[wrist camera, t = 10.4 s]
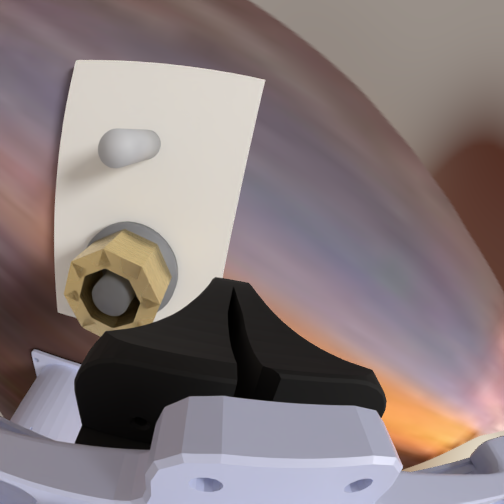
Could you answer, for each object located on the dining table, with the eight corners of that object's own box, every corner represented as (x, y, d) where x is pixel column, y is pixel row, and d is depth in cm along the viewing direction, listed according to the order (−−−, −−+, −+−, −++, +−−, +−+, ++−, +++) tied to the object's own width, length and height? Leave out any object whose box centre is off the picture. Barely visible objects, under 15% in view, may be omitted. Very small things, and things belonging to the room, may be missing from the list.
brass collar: (181, 298, 20) (172, 329, 17) (112, 318, 20) (95, 348, 17) (147, 219, 18) (129, 238, 15) (76, 248, 19) (51, 269, 15)
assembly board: (209, 339, 23) (203, 396, 18) (63, 306, 22) (27, 349, 16) (263, 82, 17) (274, 60, 12) (82, 62, 16) (34, 44, 10)
